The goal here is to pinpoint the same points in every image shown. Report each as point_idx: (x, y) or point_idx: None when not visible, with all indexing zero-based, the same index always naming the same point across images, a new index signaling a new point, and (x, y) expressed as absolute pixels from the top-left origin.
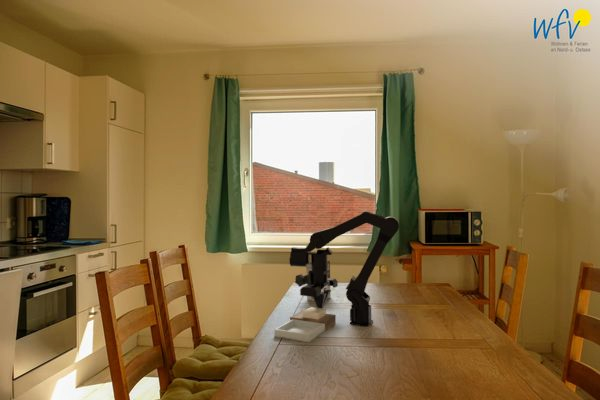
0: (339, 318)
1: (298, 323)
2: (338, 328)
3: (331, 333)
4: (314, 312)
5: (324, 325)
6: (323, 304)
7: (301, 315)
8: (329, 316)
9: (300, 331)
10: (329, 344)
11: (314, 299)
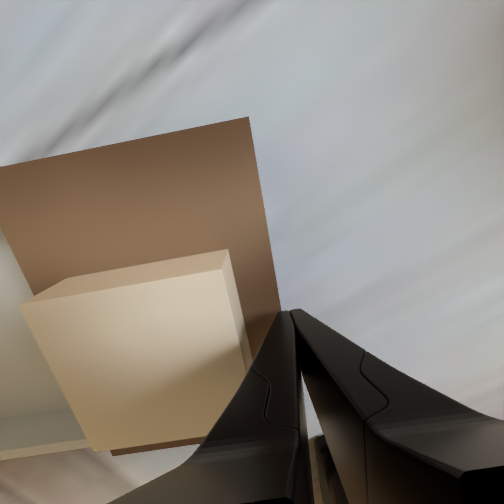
0: (397, 344)
1: None
2: None
3: None
4: (93, 413)
5: None
6: (315, 408)
7: (102, 233)
8: None
9: (3, 325)
10: (20, 493)
11: (224, 412)
